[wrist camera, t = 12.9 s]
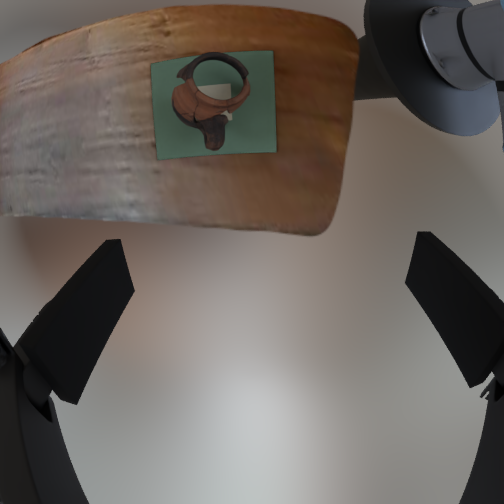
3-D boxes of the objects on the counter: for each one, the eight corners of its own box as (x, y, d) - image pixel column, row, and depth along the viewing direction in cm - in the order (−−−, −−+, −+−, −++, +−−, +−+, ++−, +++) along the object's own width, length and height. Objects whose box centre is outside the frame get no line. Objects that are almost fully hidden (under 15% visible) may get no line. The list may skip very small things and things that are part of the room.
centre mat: (272, 51, 28) (273, 50, 27) (276, 152, 34) (276, 152, 34) (151, 64, 28) (150, 63, 28) (158, 159, 35) (157, 160, 34)
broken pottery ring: (162, 82, 30) (170, 50, 22) (228, 74, 33) (250, 45, 25) (179, 164, 32) (191, 148, 25) (248, 150, 35) (276, 134, 28)
